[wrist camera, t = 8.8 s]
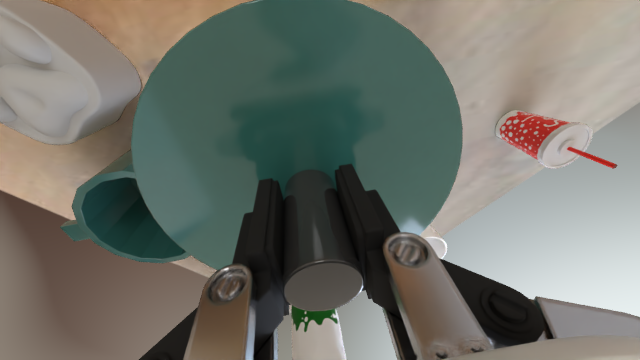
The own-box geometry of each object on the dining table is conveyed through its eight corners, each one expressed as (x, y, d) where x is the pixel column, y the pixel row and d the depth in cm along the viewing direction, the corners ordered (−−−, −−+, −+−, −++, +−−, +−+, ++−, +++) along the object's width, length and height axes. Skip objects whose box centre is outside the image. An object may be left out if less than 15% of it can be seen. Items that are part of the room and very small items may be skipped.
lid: (58, 34, 8) (-397, 35, 3) (477, -33, 8) (808, -147, 3) (219, 287, 16) (184, 414, 10) (429, 247, 16) (498, 350, 11)
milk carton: (336, 275, 51) (360, 392, 35) (322, 300, 56) (339, 415, 39) (297, 271, 49) (303, 394, 32) (287, 297, 53) (287, 418, 36)
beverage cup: (537, 110, 36) (659, 146, 24) (511, 146, 39) (609, 193, 27) (507, 100, 35) (621, 133, 23) (482, 138, 38) (572, 185, 26)
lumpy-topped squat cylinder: (107, 134, 30) (49, 165, 23) (-27, 47, 24) (-163, 52, 17) (151, 76, 28) (103, 90, 20) (13, -38, 22) (-128, -77, 14)
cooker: (82, 150, 31) (11, 190, 23) (224, 125, 32) (203, 155, 24) (139, 225, 38) (100, 275, 30) (254, 203, 39) (245, 247, 31)
